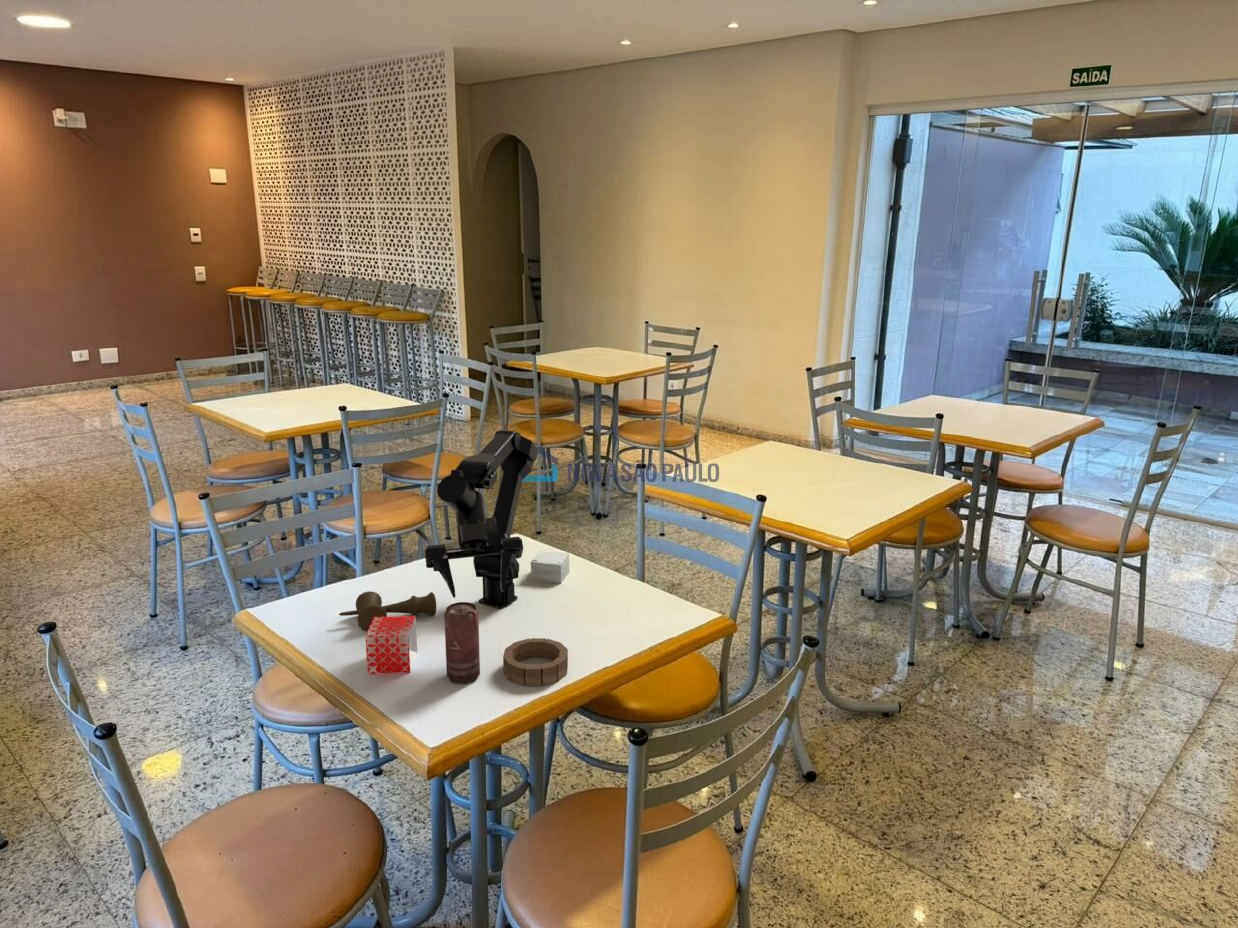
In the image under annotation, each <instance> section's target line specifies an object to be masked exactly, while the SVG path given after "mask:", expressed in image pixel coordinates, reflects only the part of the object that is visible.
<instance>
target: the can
mask: <svg viewBox="0 0 1238 928" xmlns="http://www.w3.org/2000/svg"><path fill="white" fill-rule="evenodd" d="M443 616H444V638H445V639H444V640H445V662H446V664H445V666H446V677H447V678H448V680H449V681H450V682H451V683H453V684H457V685H466V684H470V683H472V682H475V681H476V680H477V679H478V678H479V676H480V674H481V670H480V669H481V664H480V663H481V661H480V629H479V628H480V627H479V622H480V621H479V610H478V608H477V606H476V605H475V604H474V603H471V602H467V601H461V602H459V601H458V602H454V603H452V604H449V605H448V606H447V607H446V609H445V611H444V615H443Z"/></svg>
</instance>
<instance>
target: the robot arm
mask: <svg viewBox="0 0 1238 928" xmlns="http://www.w3.org/2000/svg"><path fill="white" fill-rule="evenodd" d="M537 459H538V448H537V446H536V445H535V443H534V442H533V440H530V439H529V438H526V437H525V436H523V435H521V433H520V432H518V431H516V430H508V429H507V430H506V429H505V430H504V429H500V430H496V432H495V434H494V437H493V438H491V440H490V441H489V442H487V444H486V445H485V447H483V448H482V450H481V451H479V453H477V454H474V455H470V456H467V457H465V458H464V459H462V460H460V462H459V464H458V465H457V466H456V468H454V469H451V470H450V474H448V475H447V476H445V477H443V478H442V479H441V481H440V482H439V483H438V484H437V487H436V492H437V496H438V498H439V499H440V500H441V501H442V502H444V504H445V505H447V507H449V508H450V509H451V510H453V511H454V513H455V521H456V522H455V523H456V533H457V542H458V548H450V549H447V548H446V544H445V543H443V544H435V545H426V547H425V549H424V554H425V555H424V556H425V566H426V568H427V569H432V570H433V571H434V572H439V573H440V575H441V577H442V578H443V580H444V582H445V583H446V585H447V587H448V589H449V592H450V594H451V595H452V596H451V597H452V598H456V587H455V584H454V580H453V579H454V578H453V575H452V571H451V566H450V561H449V560H456V559H457V560H458V559H465V558H473V568H474V571H475V576H476V578H482V597H481V598H480V599H478V603H481V604H484V605H486V606H492V607H495V608H498V609H503V608H505V607H506V606H508V605H509V604H511V603H512V602H514V601H516V600H518V595H515V590H516V589H515V582H514V580H516V579H518V578H519V573H520V563H519V561H518V560H517V559H520V558H522V556H523V552H524V544H523V543H524V542H523V540H522V538H521V537H520V536H511V534H512V530H513V524H514V521H515V516H516V512H517V508H518V507H517V506H518V502H519V497H520V493H521V489H522V484H523V481H524V479H525V478H526V477H527V476H528V475H529V474H530V473H531V472H532V470H533V468H534V463H535V462H536V461H537ZM499 467H500V468H501V471H502V477H501V479H500V480H501V481H500V485H499V489H498V493H497V498H496V502H495V507H494V510H493V511H494V512H493V515H492V517H486V516H485V515H486V514H485V505H484V498H483V494H482V493H480V492H479V491H478V490H479V489H480V490H490V489H492V488H493V486H494V485H495V484H496V482H497V479H498V471H497V470H498V469H499ZM476 489H477V490H476Z"/></svg>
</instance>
